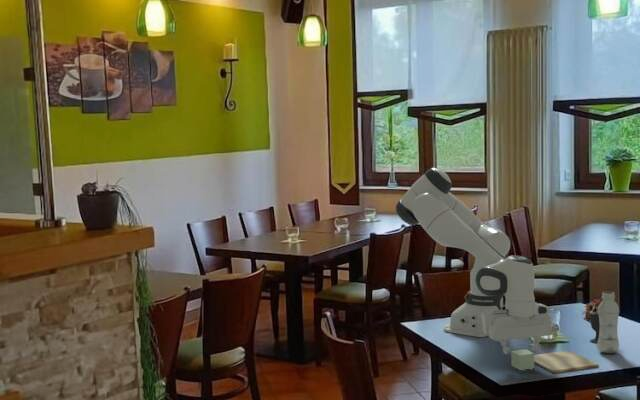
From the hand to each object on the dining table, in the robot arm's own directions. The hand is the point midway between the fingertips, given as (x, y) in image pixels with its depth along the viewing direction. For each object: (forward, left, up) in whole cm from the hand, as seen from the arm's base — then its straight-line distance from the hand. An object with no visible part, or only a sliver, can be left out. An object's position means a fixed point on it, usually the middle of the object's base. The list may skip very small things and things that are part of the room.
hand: (520, 351), depth 242 cm
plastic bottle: (+23, +26, -5) cm, 35 cm away
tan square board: (+11, +10, -5) cm, 15 cm away
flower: (+12, +69, -5) cm, 70 cm away
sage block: (+1, +1, -5) cm, 5 cm away
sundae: (+18, +38, -5) cm, 42 cm away
